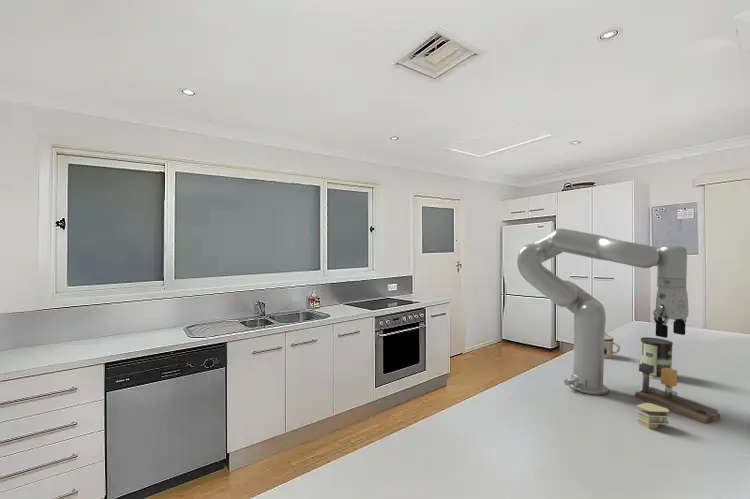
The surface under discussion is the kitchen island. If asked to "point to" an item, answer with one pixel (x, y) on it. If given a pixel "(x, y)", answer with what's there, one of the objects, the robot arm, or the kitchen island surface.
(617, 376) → the kitchen island surface
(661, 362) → the coffee can
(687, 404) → the brown wooden stand
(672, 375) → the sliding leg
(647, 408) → the stacked layers on plate
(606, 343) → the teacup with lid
